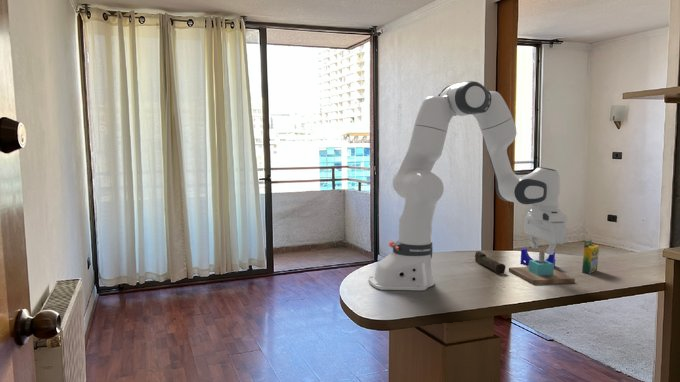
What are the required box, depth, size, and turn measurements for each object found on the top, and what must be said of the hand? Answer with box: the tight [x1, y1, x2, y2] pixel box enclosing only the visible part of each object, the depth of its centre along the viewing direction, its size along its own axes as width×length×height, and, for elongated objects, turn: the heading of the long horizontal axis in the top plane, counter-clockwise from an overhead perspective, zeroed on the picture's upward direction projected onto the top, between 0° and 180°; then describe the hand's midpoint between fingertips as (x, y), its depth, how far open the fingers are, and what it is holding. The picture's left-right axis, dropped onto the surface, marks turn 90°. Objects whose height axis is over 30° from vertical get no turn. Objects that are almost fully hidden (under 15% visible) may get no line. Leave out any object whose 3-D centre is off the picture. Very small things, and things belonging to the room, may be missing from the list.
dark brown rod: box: [474, 251, 506, 275], centre depth 189 cm, size 19×4×5 cm, turn 10°
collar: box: [528, 259, 555, 276], centre depth 176 cm, size 6×6×4 cm
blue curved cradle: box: [519, 247, 556, 268], centre depth 193 cm, size 12×4×6 cm, turn 56°
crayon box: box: [581, 239, 600, 275], centre depth 184 cm, size 7×3×12 cm, turn 132°
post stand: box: [508, 250, 576, 286], centre depth 176 cm, size 16×16×10 cm
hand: (542, 251), depth 176 cm, fingers open, 8 cm apart
